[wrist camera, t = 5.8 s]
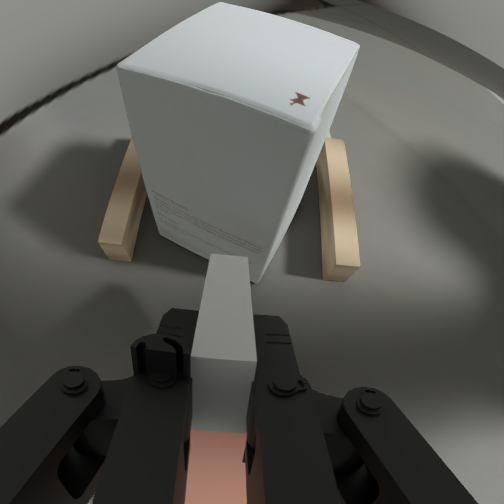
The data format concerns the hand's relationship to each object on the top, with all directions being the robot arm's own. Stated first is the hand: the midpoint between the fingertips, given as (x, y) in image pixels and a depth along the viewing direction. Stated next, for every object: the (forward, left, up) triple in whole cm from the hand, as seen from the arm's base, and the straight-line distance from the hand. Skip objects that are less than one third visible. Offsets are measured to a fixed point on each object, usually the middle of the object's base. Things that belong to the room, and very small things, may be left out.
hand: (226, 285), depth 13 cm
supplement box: (-5, -5, -6) cm, 9 cm away
